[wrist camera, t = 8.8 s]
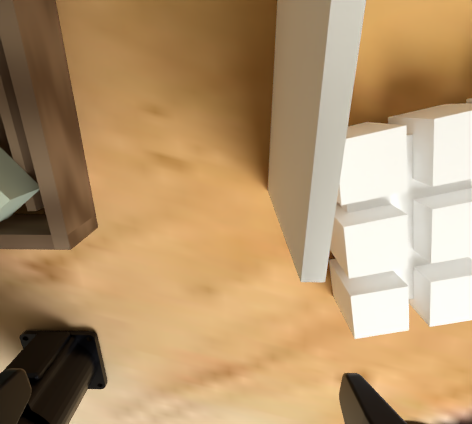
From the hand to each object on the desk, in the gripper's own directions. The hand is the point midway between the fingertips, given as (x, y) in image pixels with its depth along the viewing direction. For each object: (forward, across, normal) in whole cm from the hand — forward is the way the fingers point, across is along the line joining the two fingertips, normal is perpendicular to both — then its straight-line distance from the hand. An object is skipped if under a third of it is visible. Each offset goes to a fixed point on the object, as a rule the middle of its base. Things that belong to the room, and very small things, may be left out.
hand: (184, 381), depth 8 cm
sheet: (+13, -4, -8) cm, 16 cm away
